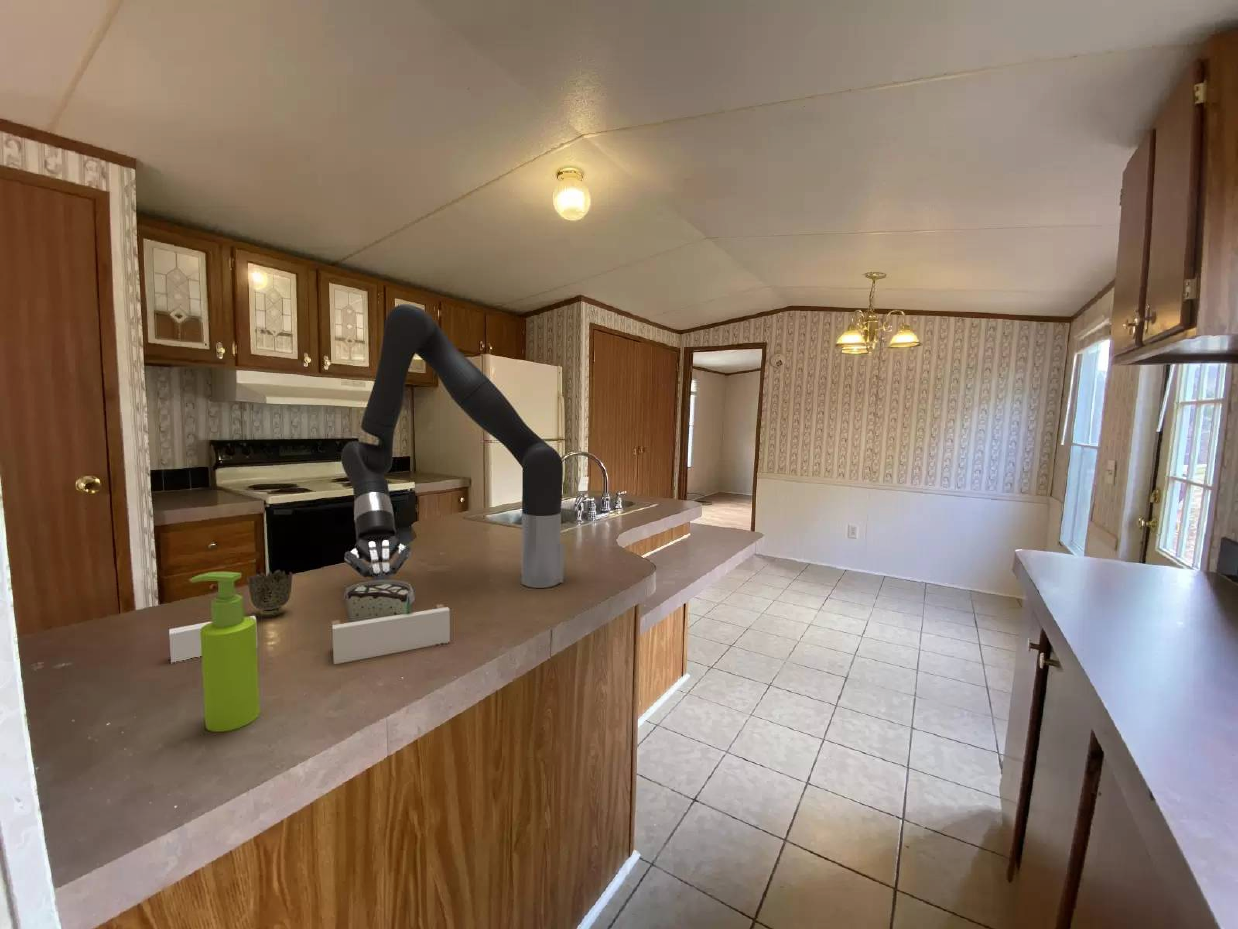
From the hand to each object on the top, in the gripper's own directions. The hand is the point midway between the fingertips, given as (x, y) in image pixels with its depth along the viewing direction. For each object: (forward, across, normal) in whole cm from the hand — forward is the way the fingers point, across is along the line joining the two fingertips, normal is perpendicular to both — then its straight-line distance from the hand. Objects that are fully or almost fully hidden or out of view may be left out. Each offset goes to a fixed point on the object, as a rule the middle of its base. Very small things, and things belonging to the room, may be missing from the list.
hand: (383, 592), depth 104 cm
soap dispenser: (+22, -22, -14) cm, 35 cm away
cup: (-4, -19, +13) cm, 23 cm away
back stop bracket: (+12, 0, -5) cm, 13 cm away
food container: (+10, 0, -2) cm, 10 cm away
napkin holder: (+6, -26, +3) cm, 27 cm away
